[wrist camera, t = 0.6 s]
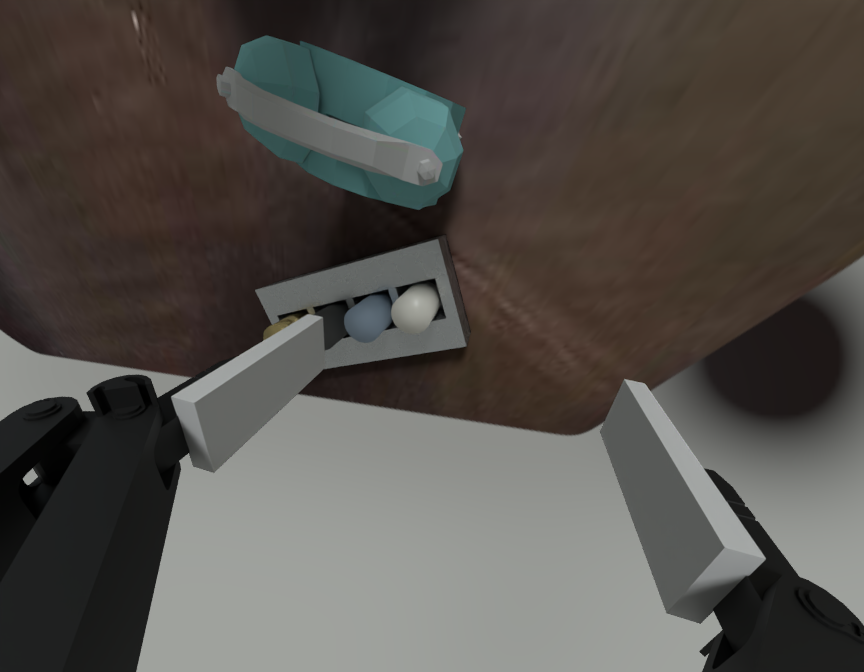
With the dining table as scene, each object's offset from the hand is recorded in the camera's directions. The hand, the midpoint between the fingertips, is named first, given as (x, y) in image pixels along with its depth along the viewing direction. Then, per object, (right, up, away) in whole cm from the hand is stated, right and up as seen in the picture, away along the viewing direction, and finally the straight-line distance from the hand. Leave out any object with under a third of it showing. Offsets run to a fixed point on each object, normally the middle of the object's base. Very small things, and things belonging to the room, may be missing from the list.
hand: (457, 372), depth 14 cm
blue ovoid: (-8, +5, +27) cm, 28 cm away
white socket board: (-10, +6, +30) cm, 32 cm away
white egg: (-2, +6, +25) cm, 26 cm away
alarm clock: (-4, +23, +21) cm, 31 cm away
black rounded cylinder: (-13, +4, +29) cm, 32 cm away
